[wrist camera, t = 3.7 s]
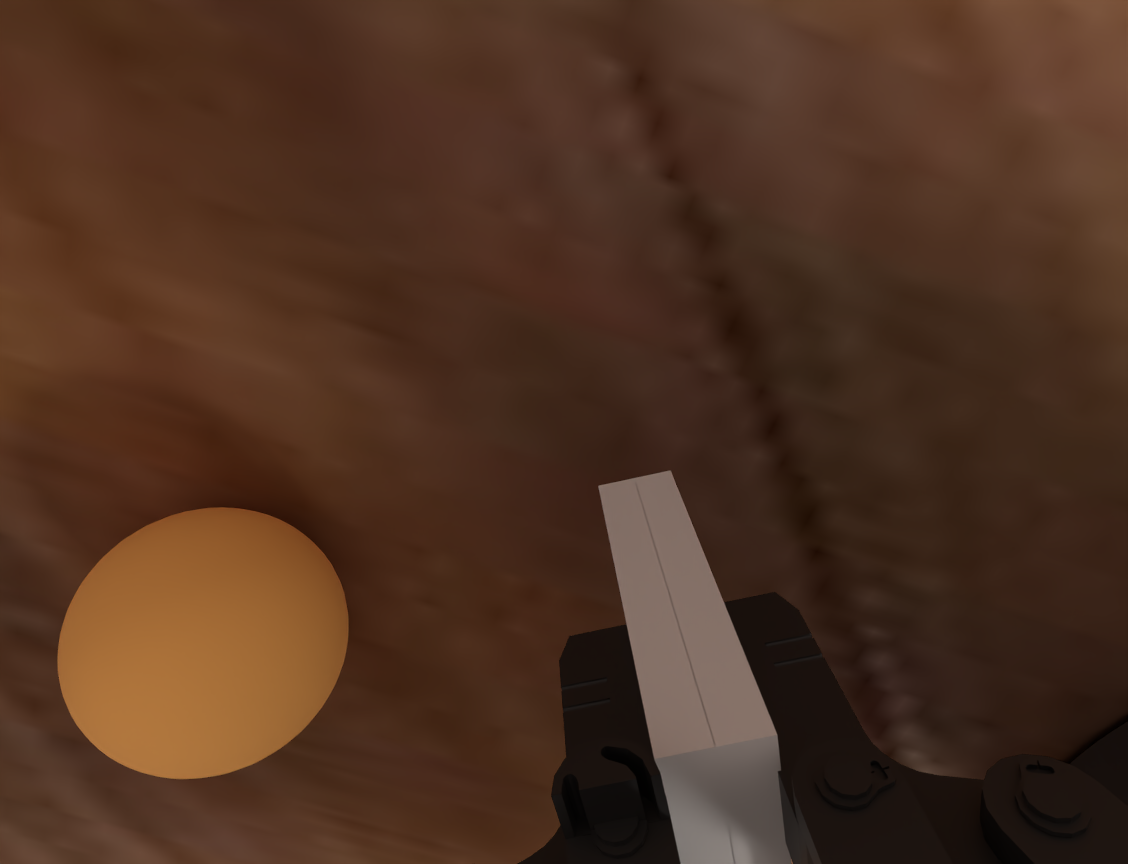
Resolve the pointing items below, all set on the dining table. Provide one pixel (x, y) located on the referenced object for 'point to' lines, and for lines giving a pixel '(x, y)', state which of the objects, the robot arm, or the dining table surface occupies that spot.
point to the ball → (203, 643)
